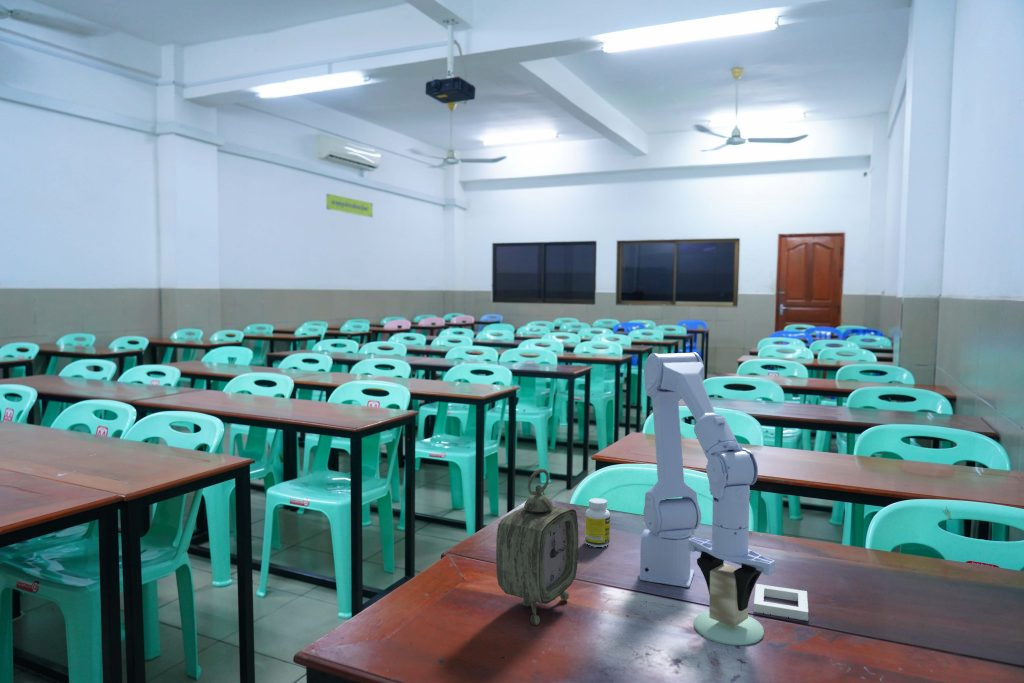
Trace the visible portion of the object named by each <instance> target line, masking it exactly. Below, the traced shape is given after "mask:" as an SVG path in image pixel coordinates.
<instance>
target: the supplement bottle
mask: <svg viewBox="0 0 1024 683" xmlns="http://www.w3.org/2000/svg"><path fill="white" fill-rule="evenodd" d="M588 507H589V508H588V509H586V511H585V526H584V530H585V531H584V532H585V534H584V535H585V536H584V542H585V544H586V545H587V544H588V545H591V546H595V547H594V548H596V547H602V546H606V547H608V546H609V545H610V541H611V540H610V539H611V538H610V537H611V536H610V534H611V513H610V511H609V510H608V500H607V499H605V498H602V497H601V498H599V497H596V498H590V499H589V500H588ZM608 544H609V545H608ZM588 545H587V546H588ZM607 545H608V546H607ZM591 546H590V547H591ZM602 548H603V547H602Z"/></svg>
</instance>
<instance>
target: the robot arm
mask: <svg viewBox="0 0 1024 683" xmlns="http://www.w3.org/2000/svg"><path fill="white" fill-rule="evenodd" d="M643 377H644V379H643V380H644V389H645V395H646V397H650V398H651V400H652V403H651V404H652V416H653V428H654V429H653V430H654V444H655V446H654V447H655V458H656V461H655V462H656V472H657V473H656V474H657V482H655V484H653V486H651V487H650V488H649V489H648V490H647V491H646V492H645V494H644V507H643V519H644V520H643V521H644V524H645V526H646V528H647V529H643V531H642V533H641V539H640V552H639V554H640V566H639V567H640V570H639V572H640V573H639V574H640V576H639V580H641V581H645V582H650V583H656V584H657V583H658V584H665V585H669V586H675V587H682V588H690V586H691V584H692V581H693V578H694V575H695V569H692V568H691V553H693V552H698V553H700V555H699V557H698V558H697V559H696V564H697V566H698V567H699V569H700V571H701V573H702V575H703V577H704V579H705V583H706V587H707V590H708V595H709V596H710V571H711V570H713V569H715V568H717V567H718V566H720V565H722V564H725V563H724V562H725V561H726V562H730V563H733V564H737V565H739V566H741V567H737V568H738V569H737V570H735V571H734V575H735V579H736V584H737V605H738V610H739V611H743V610H745V609H746V608H747V607H748V608H749V602H750V598H751V595H752V592H753V590H754V588H755V586H756V584H757V581H758V580H759V577H760V576H761V574H762V573H763V575H765V576H768V577H769V576H770V575H773V574H774V573H775V572H776V560H774V559H771V558H768V557H766V556H764V555H762V554H760V553H758V552H756V551H754V550H751V549H750V548H749V540H750V538H749V533H750V531H749V529H750V493H751V491H750V489H751V487H750V486H753V485H755V483H756V482H757V479H758V476H759V470H758V468H759V467H758V462H757V460H756V458H755V454H754V453H753V452H752V451H750V450H749V449H747V448H745V446H744V445H743V444H739V442H738V440H737V439H736V438H737V437H736V436H735V434H734V433H733V431H732V429H731V427H730V425H729V423H728V421H727V420H726V417H724V416H723V415H721V414H718V413H716V412H715V409H714V407H713V404H712V402H711V400H710V397H709V394H708V392H707V390H706V389H707V388H706V386H705V384H704V377H705V365H704V361H703V360H702V357H701V356H700V355H699V353H697V352H694V351H692V352H683V353H681V352H677V353H675V352H673V353H672V352H671V353H657V352H652V353H650V354H649V355H648V357H647V358H646V360H645V363H644V366H643ZM681 399H682V400H683V402H684V404H685V405H686V406H687V408H688V410H689V412H690V414H691V416H692V417H693V418H694V420H695V421H696V422H695V424H694V426H693V432H694V434H695V436H696V438H697V441H698V442H699V445H700V447H701V450H702V451H703V453H704V455H705V458H706V460H707V462H706V463H707V464H706V465H705V470H706V476H707V480H708V484H709V494H710V495H711V496H712V522H711V523H712V526H711V528H712V529H711V530H712V531H711V539H705V538H701V537H700V538H699V537H697V536H694V535H695V531H696V530H697V529H698V528H699V527H700V524H701V520H702V511H701V507H700V505H699V502H698V495H697V491H696V490H694V488H692V487H691V486H690V485H688V484H687V483H685V476H684V475H685V474H684V473H685V472H684V462H683V450H682V446H683V445H682V433H681V423H680V422H681V419H680V409H679V407H680V406H679V401H680V400H681ZM692 536H693V537H692Z"/></svg>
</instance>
